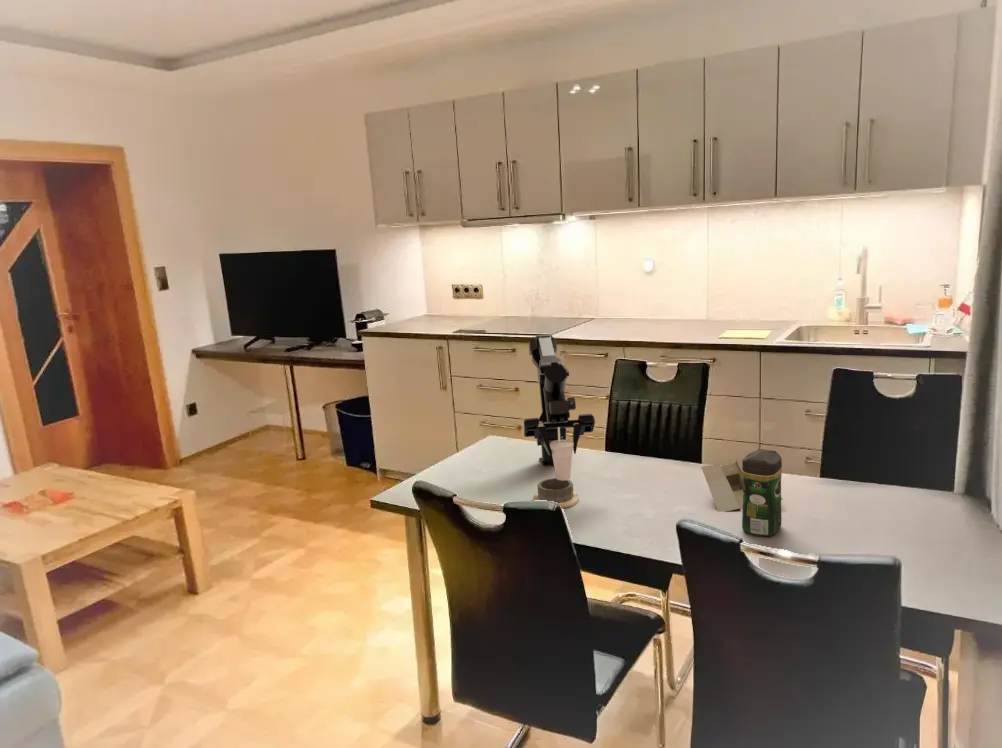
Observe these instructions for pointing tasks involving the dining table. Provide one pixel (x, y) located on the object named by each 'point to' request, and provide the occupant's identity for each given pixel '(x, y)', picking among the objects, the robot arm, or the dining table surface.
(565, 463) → the smoothie
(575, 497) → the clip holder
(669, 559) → the dining table surface
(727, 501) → the open cardboard box
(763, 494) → the coffee jar
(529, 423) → the robot arm
